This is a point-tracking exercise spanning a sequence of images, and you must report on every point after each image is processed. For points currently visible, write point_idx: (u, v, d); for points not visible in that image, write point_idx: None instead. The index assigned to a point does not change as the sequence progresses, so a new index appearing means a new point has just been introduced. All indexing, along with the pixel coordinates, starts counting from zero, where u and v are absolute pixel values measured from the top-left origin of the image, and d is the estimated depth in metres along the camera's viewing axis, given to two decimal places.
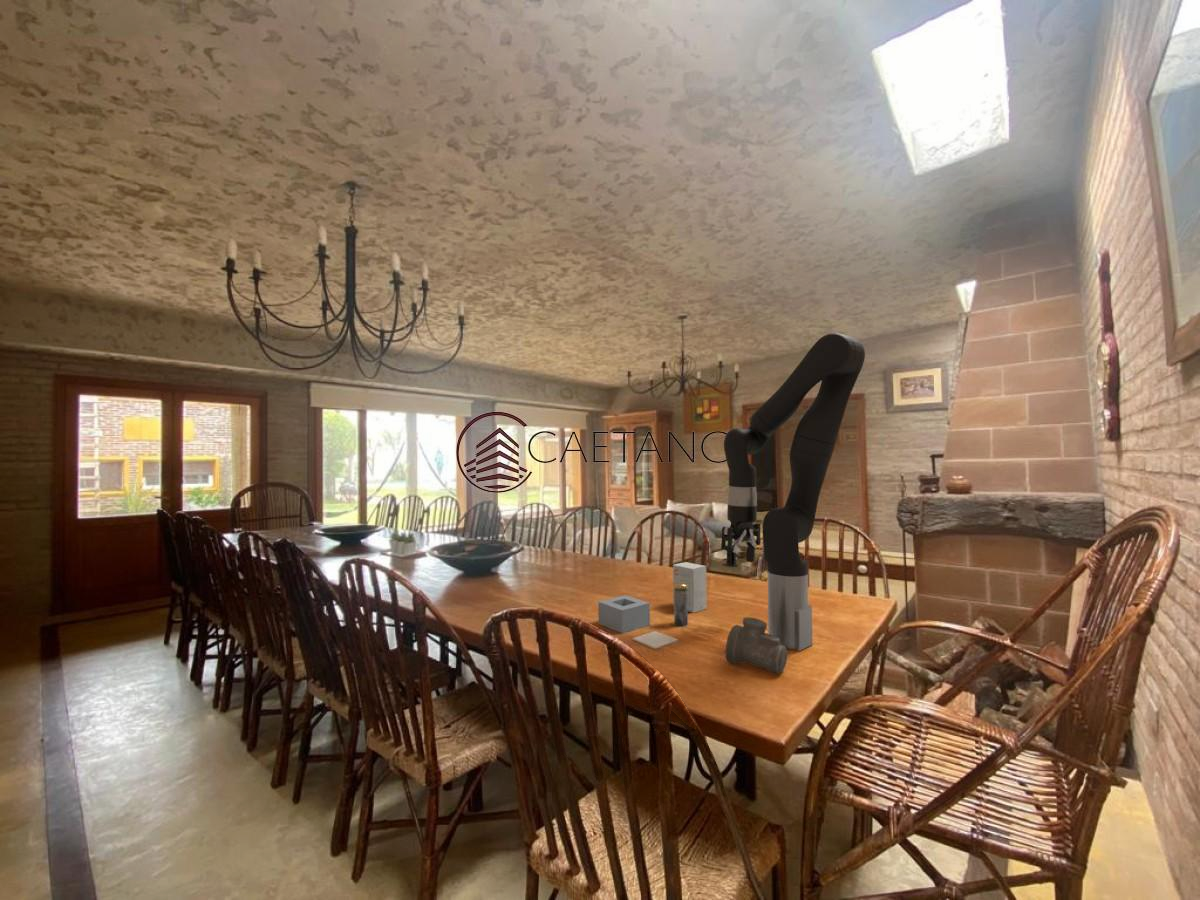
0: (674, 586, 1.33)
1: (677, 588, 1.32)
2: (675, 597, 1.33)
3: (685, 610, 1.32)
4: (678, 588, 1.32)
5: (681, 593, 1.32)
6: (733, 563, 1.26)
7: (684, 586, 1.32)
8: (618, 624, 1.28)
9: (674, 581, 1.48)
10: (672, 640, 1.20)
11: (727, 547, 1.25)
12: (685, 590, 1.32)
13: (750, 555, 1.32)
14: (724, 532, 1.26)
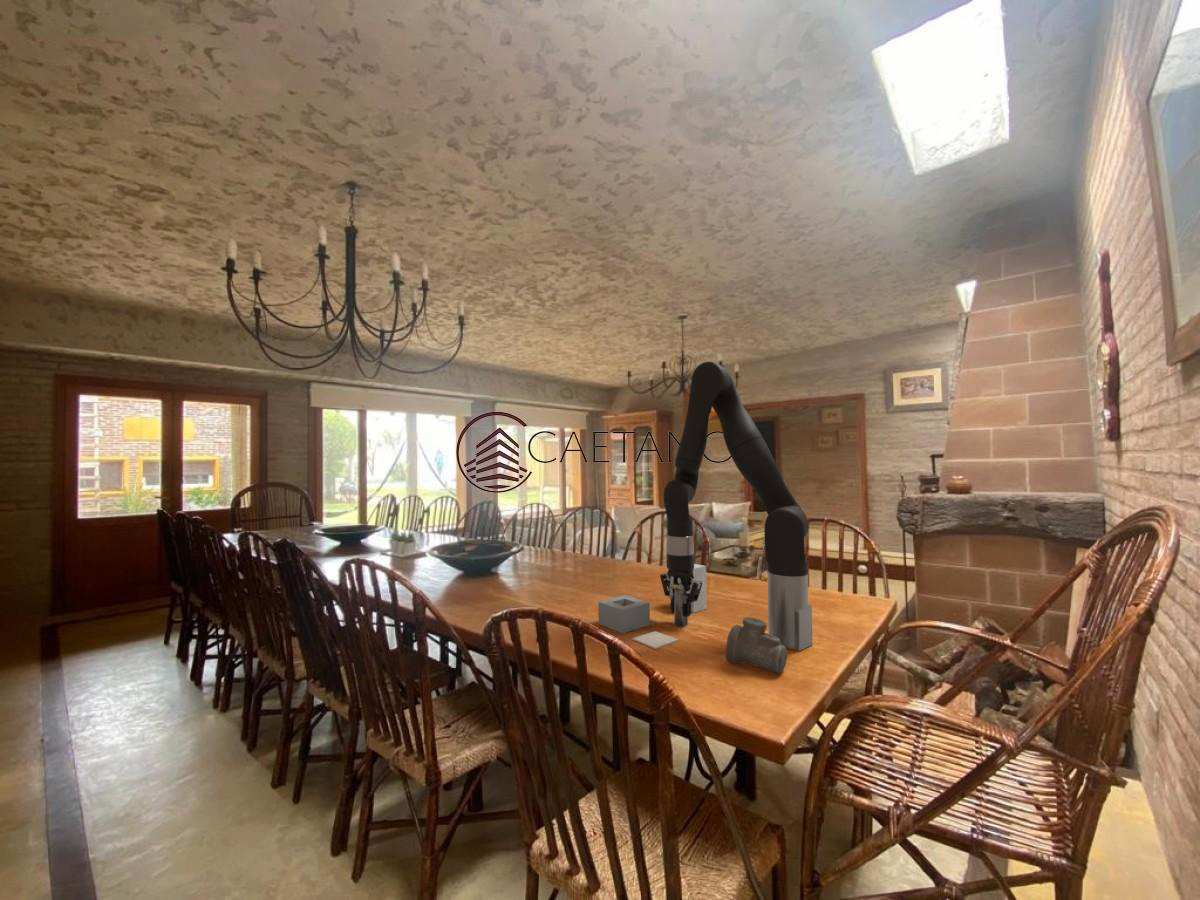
0: (674, 586, 1.33)
1: (677, 588, 1.32)
2: (675, 597, 1.33)
3: None
4: (678, 588, 1.32)
5: None
6: None
7: None
8: (618, 624, 1.28)
9: None
10: (672, 640, 1.20)
11: (695, 598, 1.30)
12: (685, 590, 1.32)
13: None
14: (697, 587, 1.28)
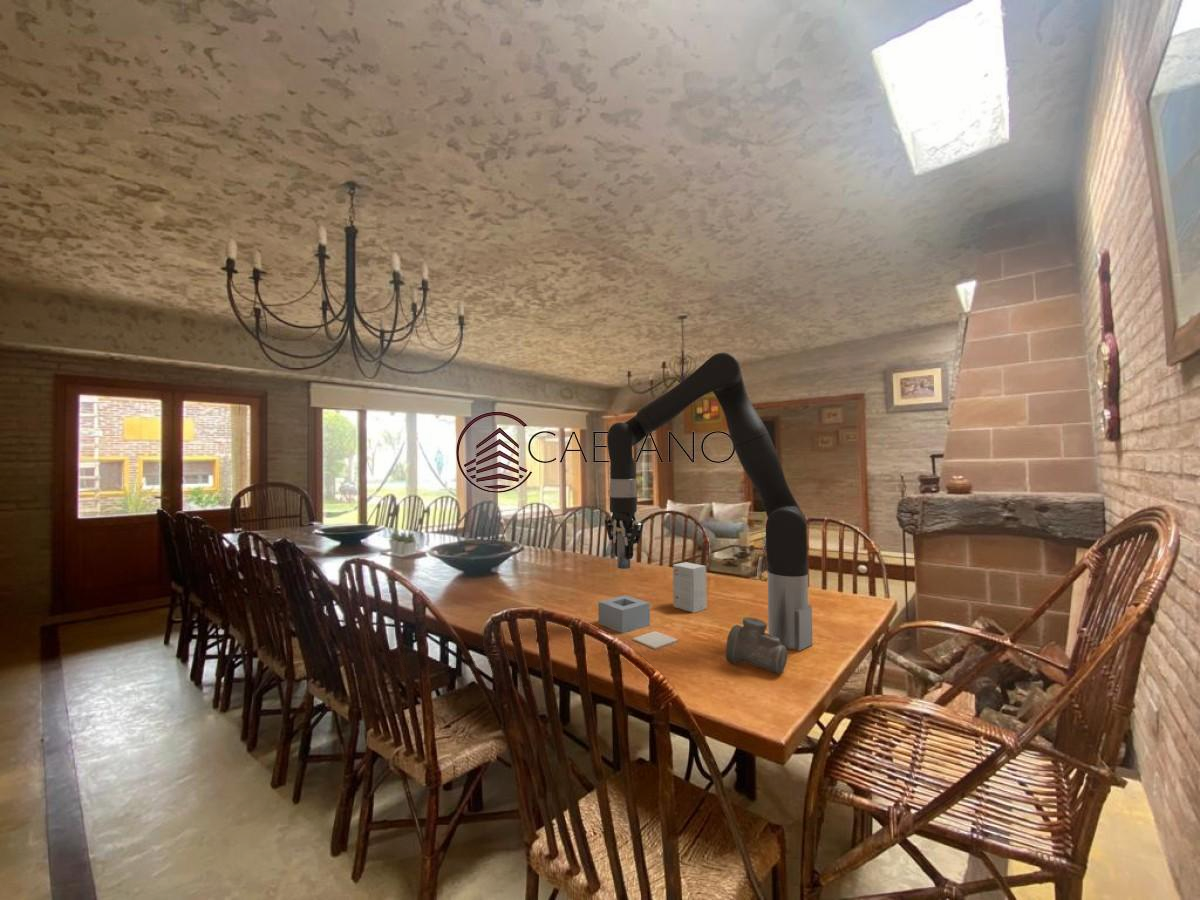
0: (617, 529, 1.33)
1: (619, 531, 1.32)
2: (618, 540, 1.33)
3: None
4: (620, 531, 1.32)
5: None
6: None
7: None
8: (618, 624, 1.28)
9: (674, 581, 1.48)
10: (672, 640, 1.20)
11: (637, 539, 1.31)
12: (627, 533, 1.33)
13: None
14: (638, 529, 1.29)
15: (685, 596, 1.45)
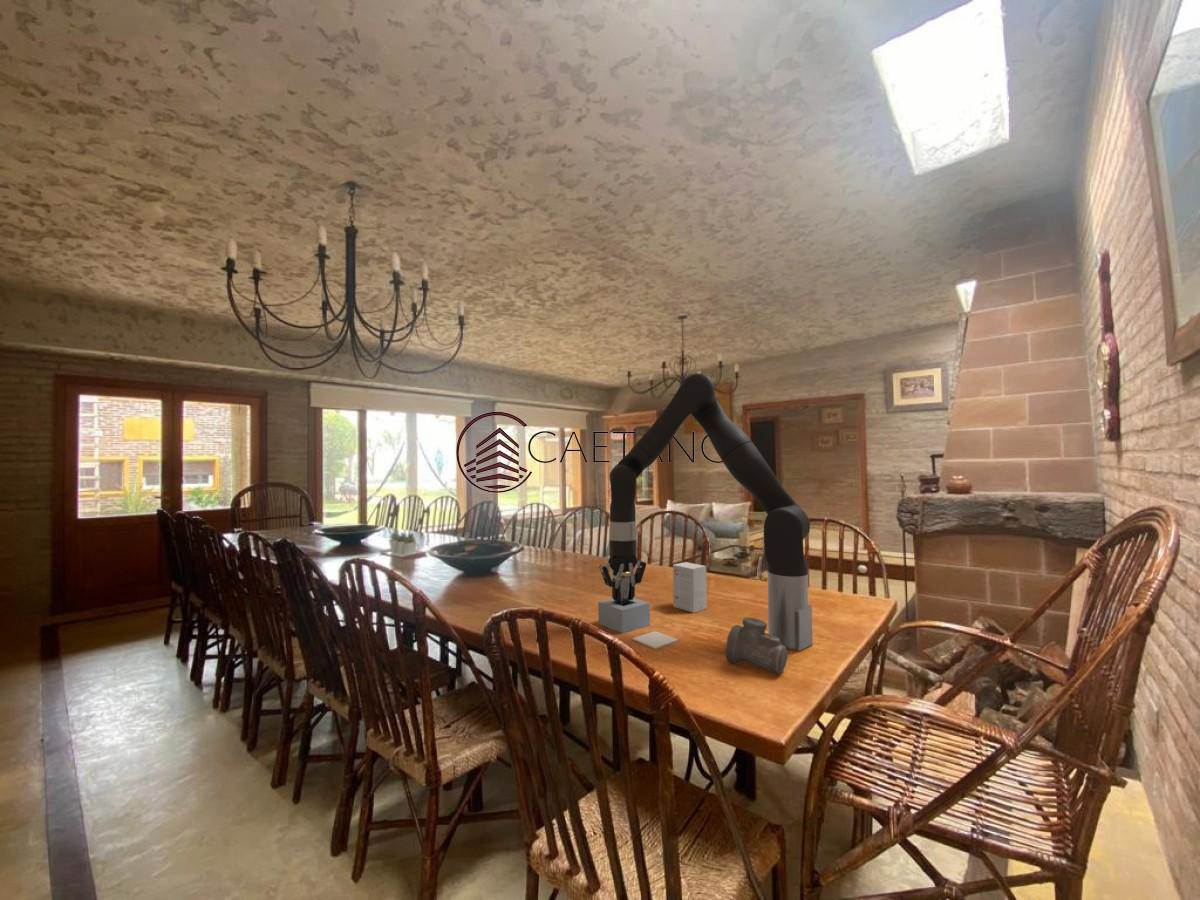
0: (624, 574, 1.31)
1: (627, 575, 1.31)
2: (624, 585, 1.32)
3: None
4: (628, 575, 1.32)
5: (629, 578, 1.32)
6: None
7: None
8: (618, 624, 1.28)
9: (674, 581, 1.48)
10: (672, 640, 1.20)
11: None
12: None
13: None
14: None
15: (685, 596, 1.45)
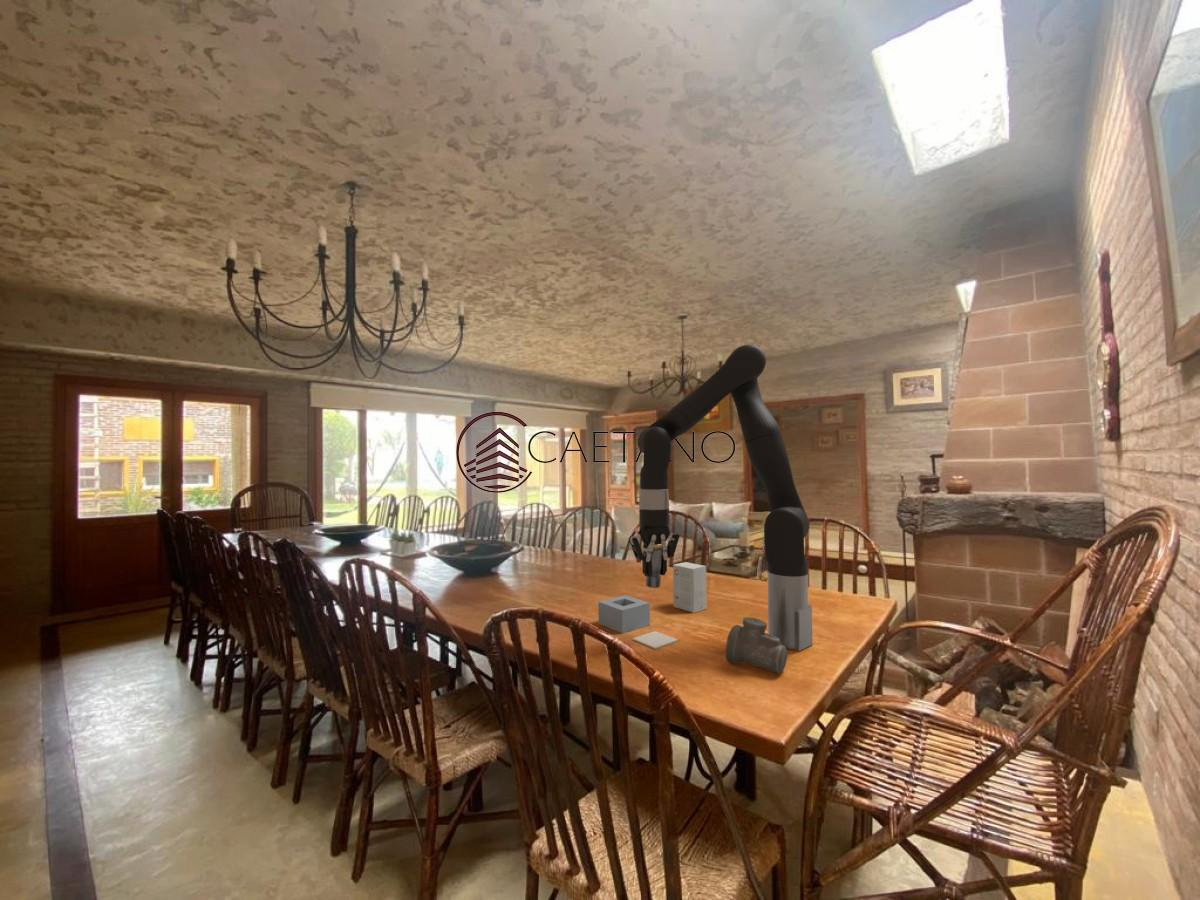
0: (656, 546, 1.20)
1: (660, 548, 1.20)
2: (655, 558, 1.20)
3: None
4: (661, 547, 1.20)
5: (661, 551, 1.21)
6: None
7: None
8: (618, 624, 1.28)
9: (674, 581, 1.48)
10: (672, 640, 1.20)
11: None
12: None
13: None
14: None
15: (685, 596, 1.45)
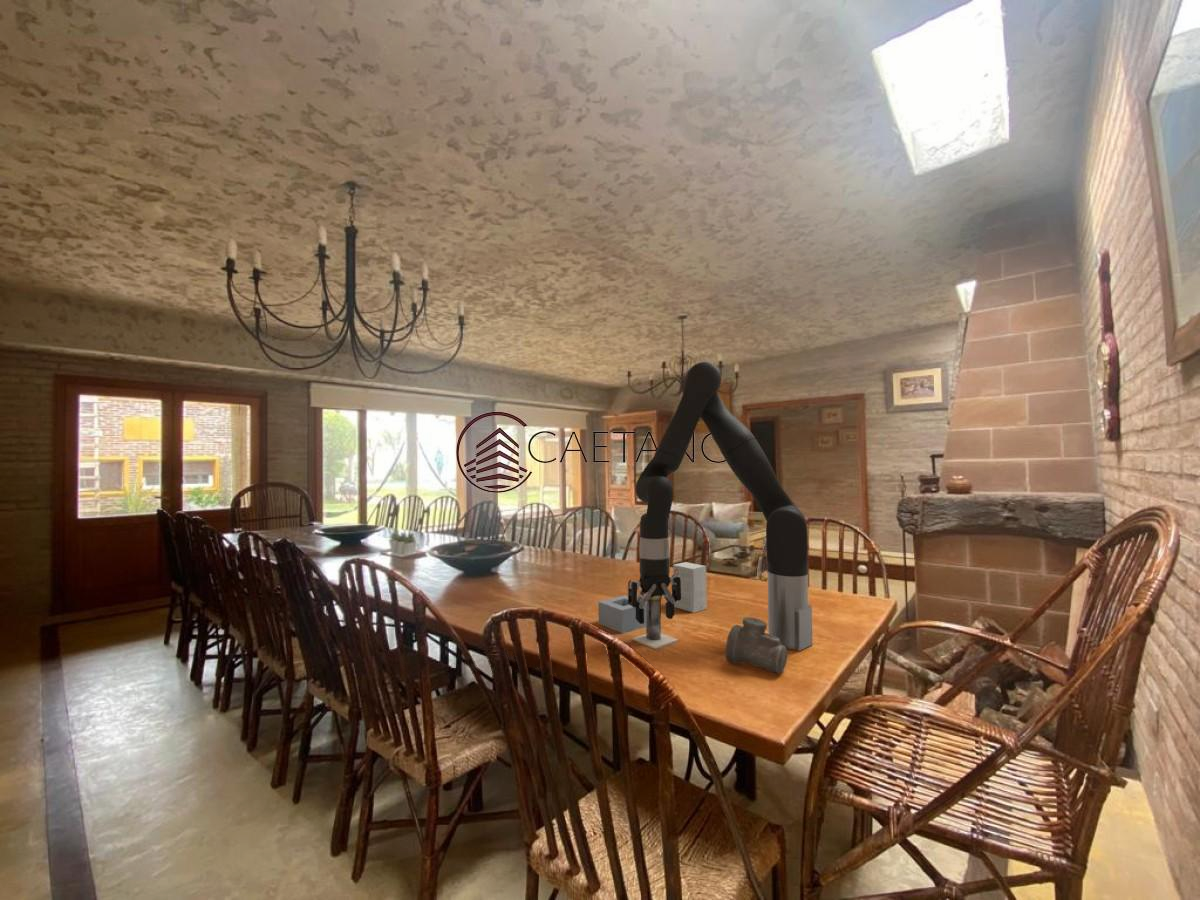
0: (654, 598, 1.20)
1: (658, 599, 1.21)
2: (655, 609, 1.20)
3: None
4: (659, 598, 1.21)
5: (660, 602, 1.22)
6: None
7: None
8: (618, 624, 1.28)
9: None
10: (672, 640, 1.20)
11: None
12: None
13: None
14: None
15: (685, 596, 1.45)
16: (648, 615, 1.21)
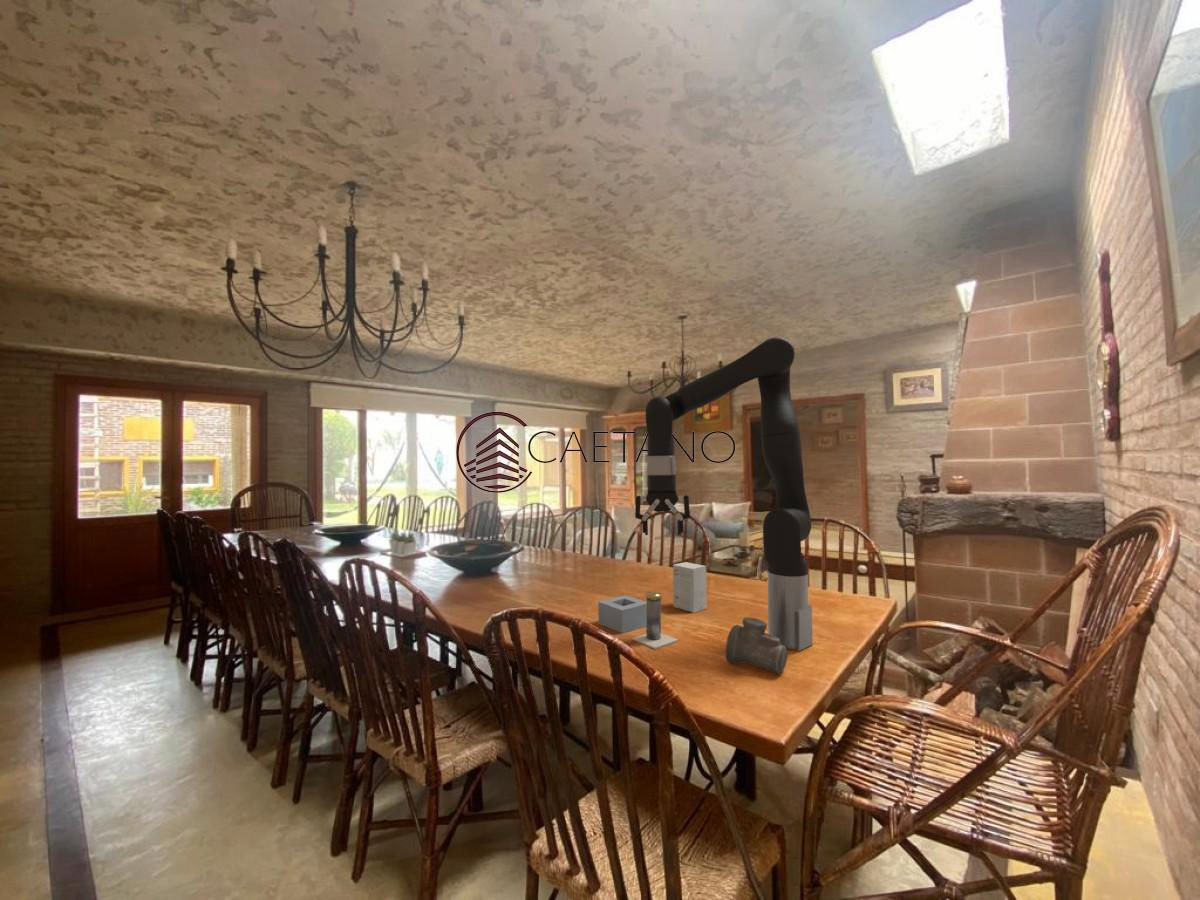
0: (654, 597, 1.20)
1: (658, 598, 1.21)
2: (655, 609, 1.21)
3: None
4: (659, 598, 1.21)
5: (660, 602, 1.22)
6: None
7: None
8: (618, 624, 1.28)
9: (674, 581, 1.48)
10: (672, 640, 1.20)
11: None
12: None
13: None
14: None
15: (685, 596, 1.45)
16: (648, 615, 1.21)
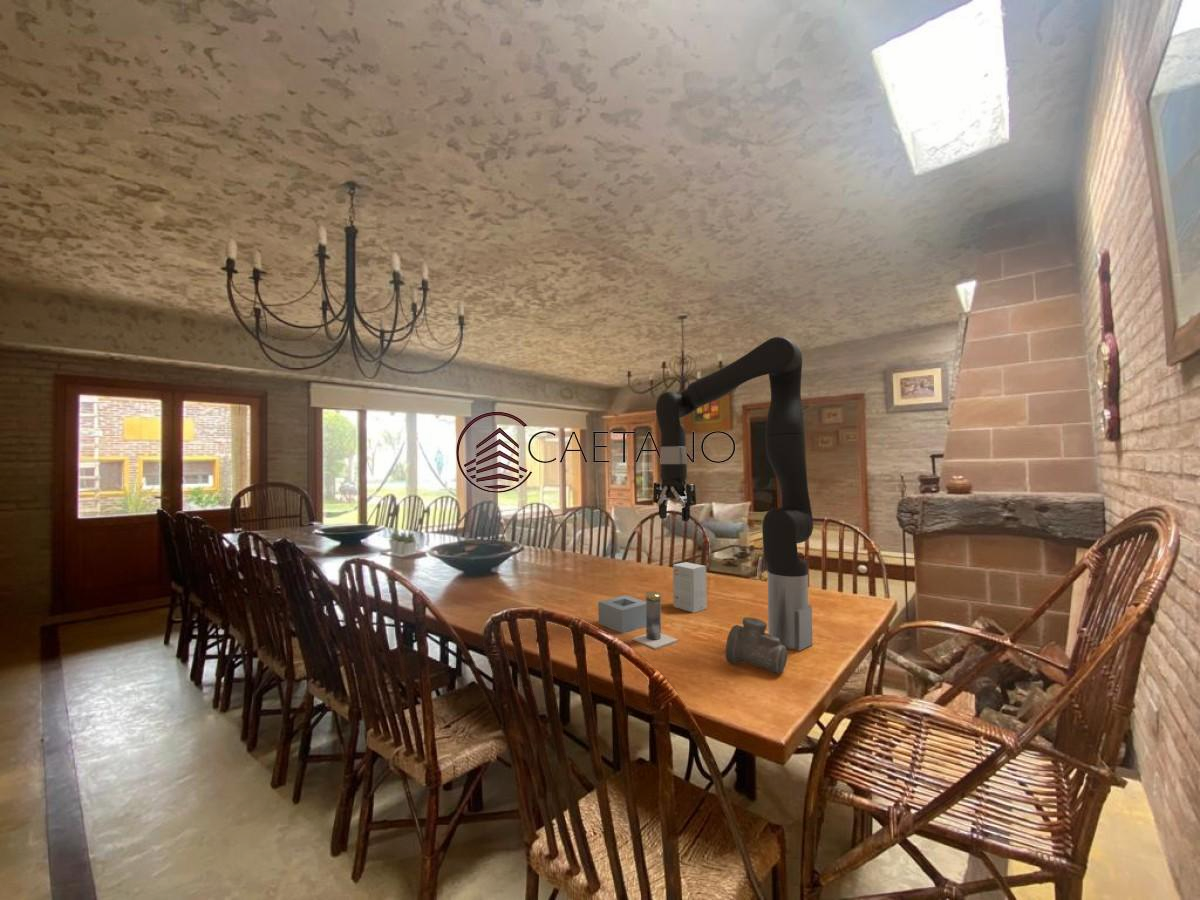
0: (654, 598, 1.20)
1: (658, 599, 1.21)
2: (655, 609, 1.20)
3: None
4: (659, 598, 1.21)
5: (660, 602, 1.22)
6: None
7: (660, 594, 1.22)
8: (618, 624, 1.28)
9: (674, 581, 1.48)
10: (672, 640, 1.20)
11: (694, 501, 1.33)
12: None
13: (664, 511, 1.41)
14: (691, 488, 1.33)
15: (685, 596, 1.45)
16: (648, 615, 1.21)
